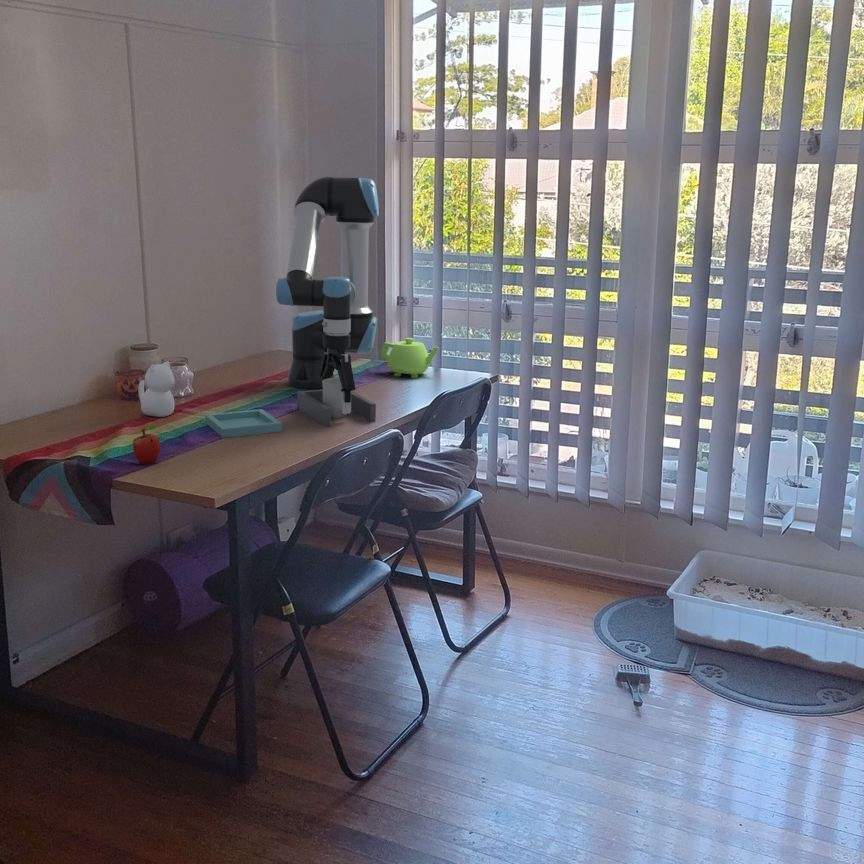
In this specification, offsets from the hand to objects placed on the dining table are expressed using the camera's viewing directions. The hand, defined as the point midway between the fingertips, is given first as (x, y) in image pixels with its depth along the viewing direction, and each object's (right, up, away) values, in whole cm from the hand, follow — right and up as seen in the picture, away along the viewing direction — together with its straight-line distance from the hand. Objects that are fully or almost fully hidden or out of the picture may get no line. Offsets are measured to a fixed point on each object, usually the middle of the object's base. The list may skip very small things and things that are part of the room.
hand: (336, 408), depth 273 cm
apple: (-40, -14, -47) cm, 63 cm away
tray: (-24, -5, -14) cm, 28 cm away
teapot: (+19, +13, +56) cm, 60 cm away
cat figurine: (-50, -2, -4) cm, 50 cm away
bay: (0, -2, +1) cm, 2 cm away
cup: (0, -2, +1) cm, 2 cm away
